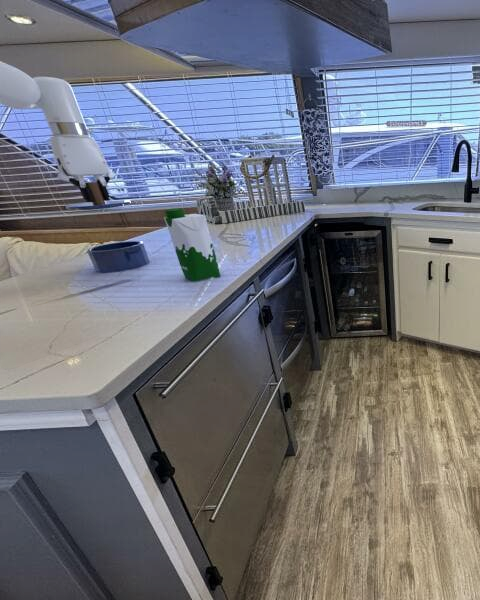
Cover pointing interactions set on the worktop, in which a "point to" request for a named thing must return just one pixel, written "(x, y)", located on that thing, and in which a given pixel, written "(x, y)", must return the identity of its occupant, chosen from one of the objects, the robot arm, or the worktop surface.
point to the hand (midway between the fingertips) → (98, 200)
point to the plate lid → (97, 200)
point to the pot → (118, 256)
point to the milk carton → (192, 244)
